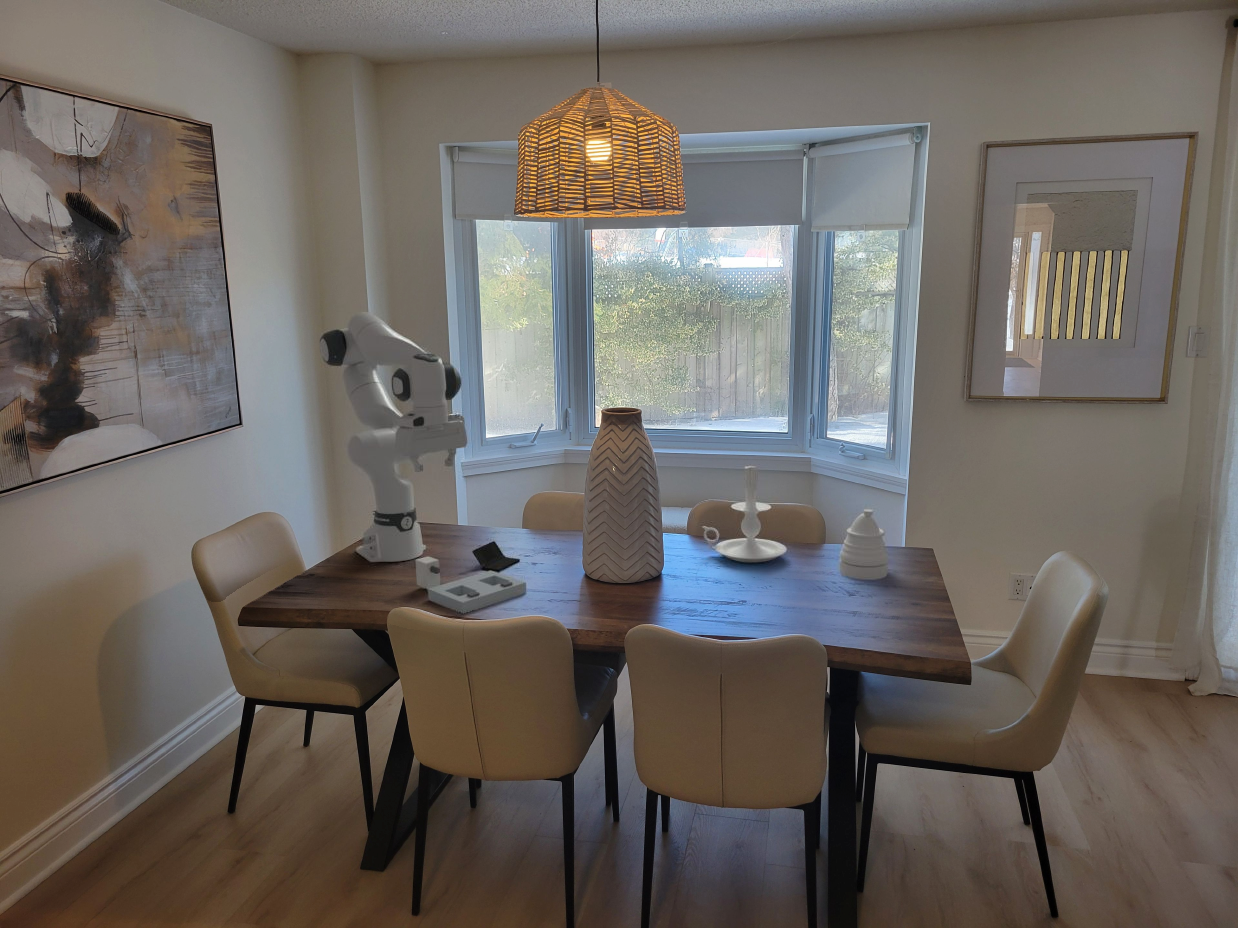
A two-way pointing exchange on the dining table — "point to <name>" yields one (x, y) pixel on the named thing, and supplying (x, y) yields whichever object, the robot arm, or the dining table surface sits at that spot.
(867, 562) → the honey pot
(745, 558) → the candlestick
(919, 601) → the dining table surface
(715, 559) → the dining table surface
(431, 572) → the plug
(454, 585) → the plate
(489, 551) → the handheld gaming console
